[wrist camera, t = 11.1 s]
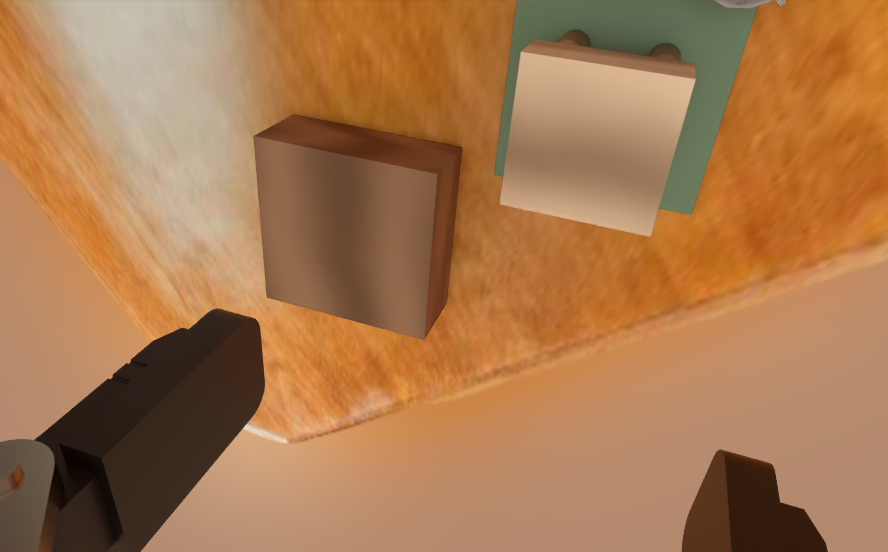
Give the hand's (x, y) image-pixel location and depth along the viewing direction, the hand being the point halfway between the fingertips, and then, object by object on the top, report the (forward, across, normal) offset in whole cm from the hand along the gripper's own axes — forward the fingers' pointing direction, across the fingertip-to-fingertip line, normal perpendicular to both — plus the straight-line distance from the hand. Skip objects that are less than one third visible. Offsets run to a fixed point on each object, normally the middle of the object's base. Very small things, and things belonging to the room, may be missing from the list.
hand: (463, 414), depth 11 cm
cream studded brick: (+23, 0, 0) cm, 23 cm away
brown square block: (+23, +12, +9) cm, 28 cm away
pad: (+23, 0, 0) cm, 23 cm away
